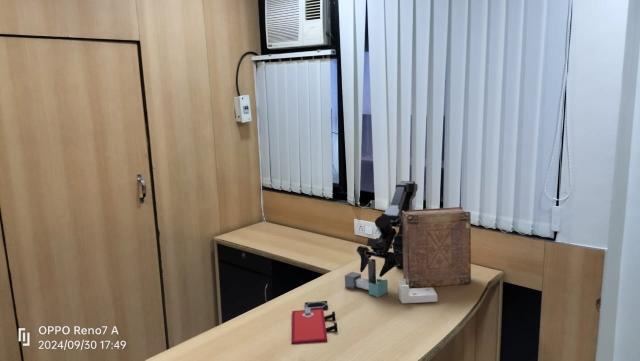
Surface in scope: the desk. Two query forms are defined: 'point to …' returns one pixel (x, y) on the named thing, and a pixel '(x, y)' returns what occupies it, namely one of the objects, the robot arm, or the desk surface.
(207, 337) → the desk surface
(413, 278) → the book
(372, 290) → the socket block
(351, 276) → the outer sleeve
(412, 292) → the bracket
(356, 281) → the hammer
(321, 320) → the red board with handle
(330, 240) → the desk surface
